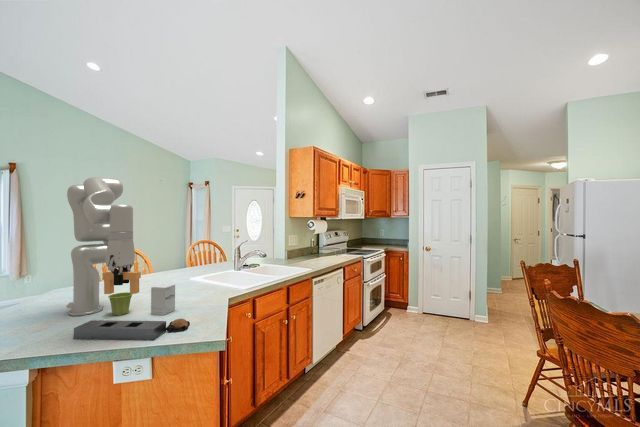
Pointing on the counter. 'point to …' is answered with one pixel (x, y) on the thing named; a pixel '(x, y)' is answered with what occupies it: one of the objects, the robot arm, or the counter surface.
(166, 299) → the supplement box
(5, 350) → the counter surface
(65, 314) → the counter surface
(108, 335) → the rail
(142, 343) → the counter surface
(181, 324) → the toy turtle
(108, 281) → the light wooden bench shape
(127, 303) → the plant pot
